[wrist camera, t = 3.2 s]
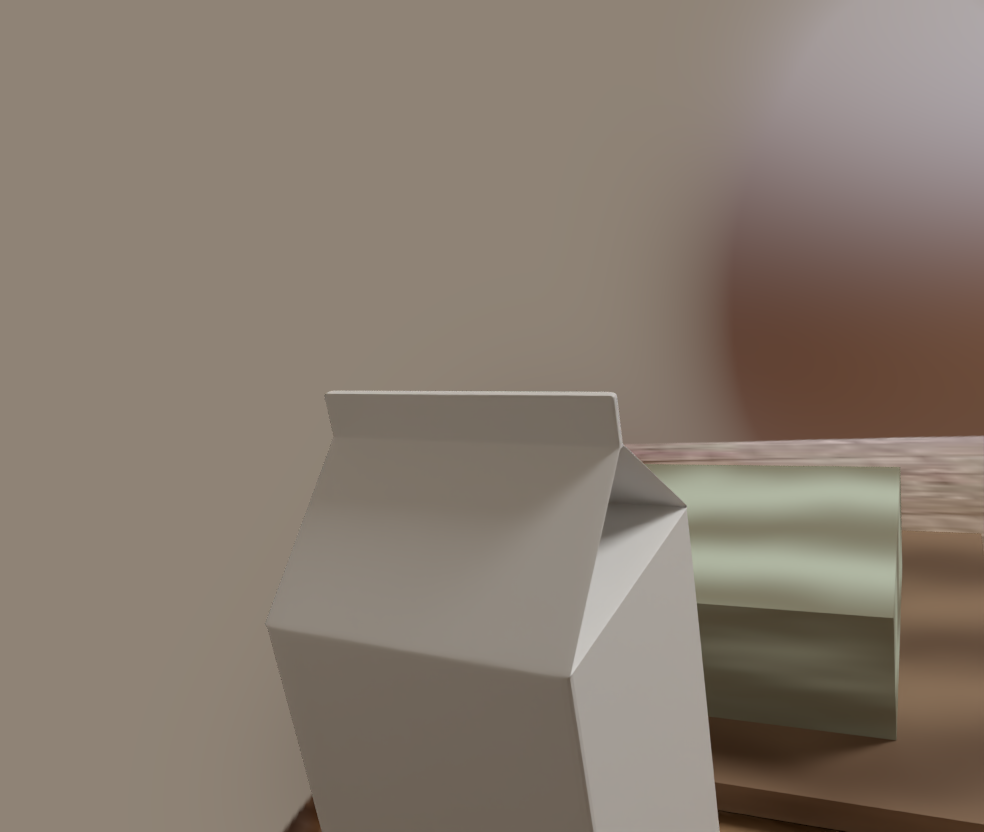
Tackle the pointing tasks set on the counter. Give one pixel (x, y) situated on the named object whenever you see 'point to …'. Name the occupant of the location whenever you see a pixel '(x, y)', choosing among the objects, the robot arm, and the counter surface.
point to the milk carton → (493, 623)
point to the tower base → (927, 722)
